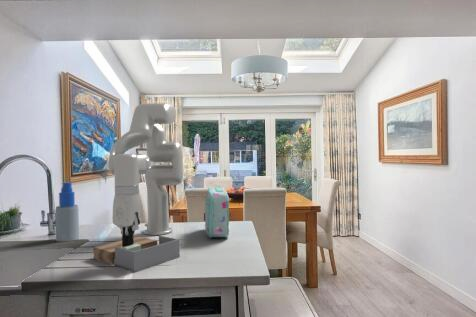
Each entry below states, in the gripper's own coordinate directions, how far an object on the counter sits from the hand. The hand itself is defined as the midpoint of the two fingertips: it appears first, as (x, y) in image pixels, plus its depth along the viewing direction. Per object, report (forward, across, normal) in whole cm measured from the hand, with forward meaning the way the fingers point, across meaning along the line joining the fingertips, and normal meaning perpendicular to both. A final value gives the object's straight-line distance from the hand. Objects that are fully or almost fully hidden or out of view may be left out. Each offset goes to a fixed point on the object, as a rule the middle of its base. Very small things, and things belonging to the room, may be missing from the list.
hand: (127, 246), depth 102 cm
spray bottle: (+5, -52, +4) cm, 52 cm away
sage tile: (+2, +1, 0) cm, 2 cm away
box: (+5, +4, +5) cm, 8 cm away
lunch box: (+6, -2, +46) cm, 47 cm away
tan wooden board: (+5, -8, +5) cm, 11 cm away
